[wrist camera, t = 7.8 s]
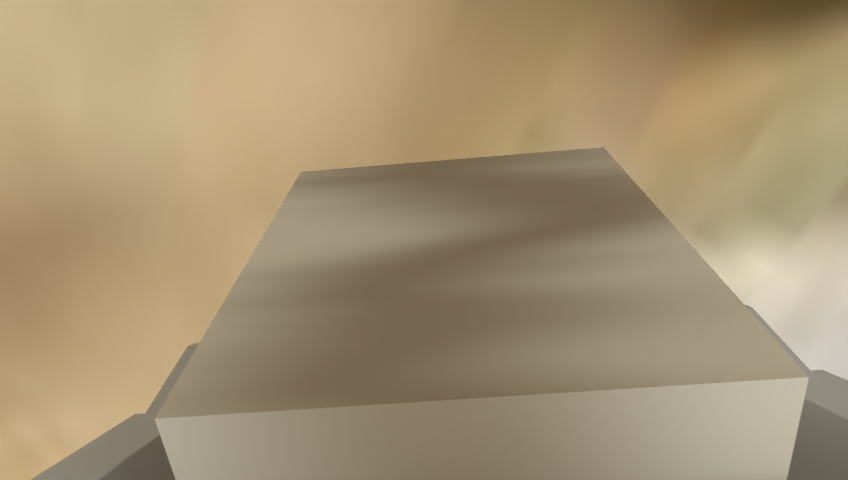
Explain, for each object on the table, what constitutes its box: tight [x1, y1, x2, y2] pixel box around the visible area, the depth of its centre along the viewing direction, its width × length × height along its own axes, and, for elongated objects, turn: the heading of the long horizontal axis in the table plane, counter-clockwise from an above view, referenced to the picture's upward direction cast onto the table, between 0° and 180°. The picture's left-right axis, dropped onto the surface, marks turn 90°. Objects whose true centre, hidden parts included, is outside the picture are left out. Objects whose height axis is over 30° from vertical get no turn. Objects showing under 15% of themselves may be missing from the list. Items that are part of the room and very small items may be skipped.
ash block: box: [155, 147, 809, 480], centre depth 8 cm, size 5×5×6 cm
